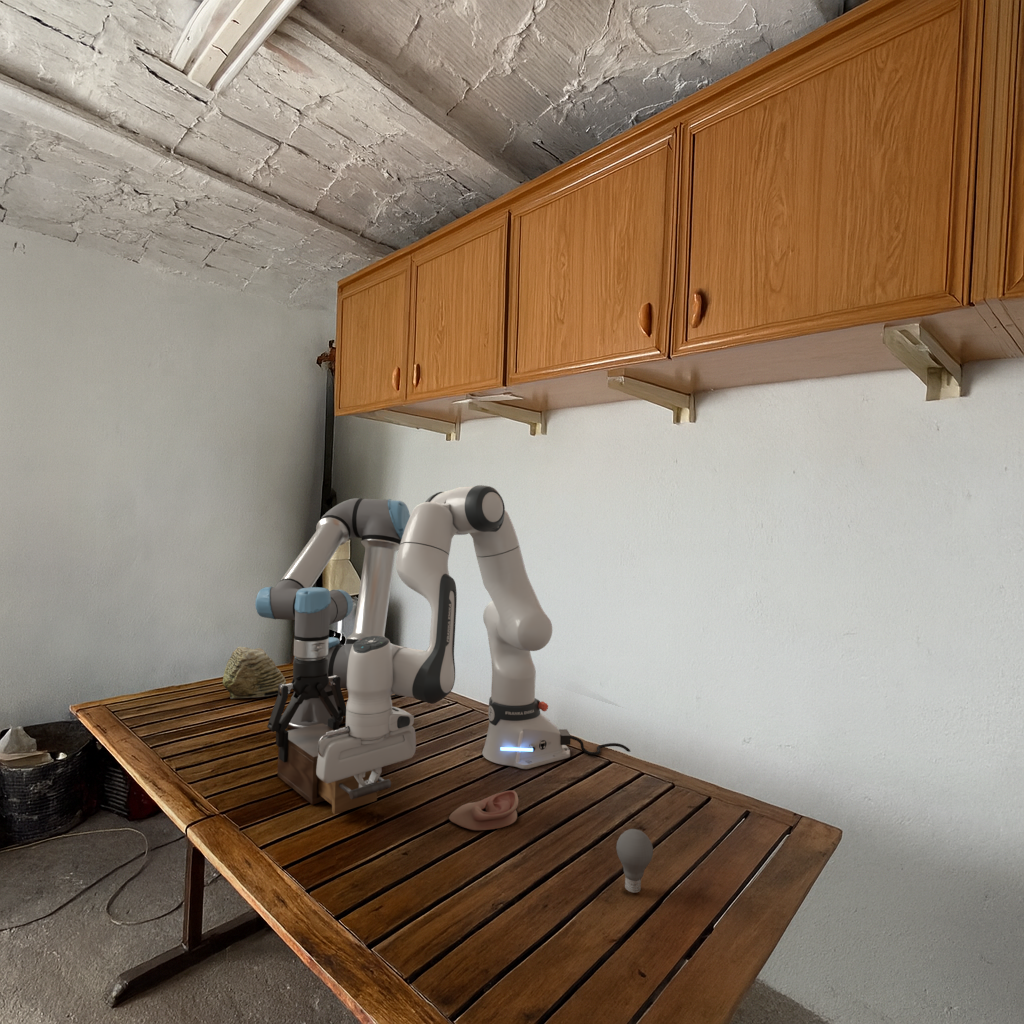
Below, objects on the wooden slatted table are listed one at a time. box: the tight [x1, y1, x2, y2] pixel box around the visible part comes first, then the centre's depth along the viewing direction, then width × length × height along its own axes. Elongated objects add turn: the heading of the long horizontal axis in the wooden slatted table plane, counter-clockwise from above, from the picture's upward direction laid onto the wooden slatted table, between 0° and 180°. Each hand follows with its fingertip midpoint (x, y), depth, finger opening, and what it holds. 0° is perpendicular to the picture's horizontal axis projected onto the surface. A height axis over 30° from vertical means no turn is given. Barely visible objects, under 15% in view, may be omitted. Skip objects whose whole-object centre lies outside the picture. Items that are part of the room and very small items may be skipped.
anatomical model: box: [448, 790, 519, 831], centre depth 128 cm, size 13×4×12 cm
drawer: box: [317, 771, 392, 815], centre depth 131 cm, size 23×9×8 cm, turn 42°
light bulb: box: [615, 828, 654, 894], centre depth 106 cm, size 6×6×10 cm
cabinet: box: [277, 723, 334, 805], centre depth 140 cm, size 18×11×10 cm, turn 42°
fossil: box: [222, 646, 287, 699], centre depth 198 cm, size 9×18×15 cm, turn 132°
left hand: (307, 754), depth 143 cm, fingers closed on cabinet, 11 cm apart
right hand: (367, 791), depth 124 cm, fingers closed
